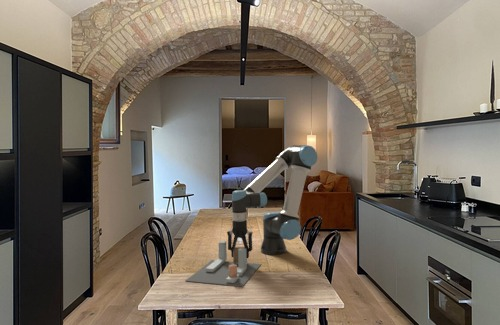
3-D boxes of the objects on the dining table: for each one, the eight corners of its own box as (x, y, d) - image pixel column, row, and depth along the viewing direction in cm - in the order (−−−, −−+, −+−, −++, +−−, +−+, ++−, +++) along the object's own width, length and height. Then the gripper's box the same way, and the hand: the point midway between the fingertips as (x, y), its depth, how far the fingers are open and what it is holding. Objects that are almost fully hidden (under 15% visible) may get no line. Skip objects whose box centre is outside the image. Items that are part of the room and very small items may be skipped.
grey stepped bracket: (220, 259, 205) (220, 240, 204) (227, 259, 204) (227, 241, 203) (205, 271, 185) (205, 251, 185) (213, 272, 184) (212, 251, 184)
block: (237, 259, 200) (236, 246, 200) (246, 260, 198) (246, 247, 198) (233, 262, 195) (233, 249, 194) (243, 263, 193) (243, 249, 193)
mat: (211, 260, 205) (211, 260, 205) (261, 264, 197) (261, 264, 197) (185, 281, 174) (185, 280, 174) (242, 286, 166) (242, 286, 166)
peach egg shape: (230, 274, 176) (230, 263, 176) (238, 275, 175) (238, 264, 175) (227, 277, 172) (227, 266, 172) (235, 277, 171) (235, 267, 171)
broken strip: (239, 268, 190) (239, 248, 189) (247, 268, 189) (247, 248, 188) (225, 282, 170) (225, 260, 170) (234, 283, 169) (233, 260, 168)
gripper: (220, 220, 195) (221, 264, 196) (254, 222, 189) (255, 267, 190) (225, 217, 202) (226, 260, 203) (258, 219, 197) (259, 262, 198)
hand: (240, 263), depth 197 cm, fingers closed on block, 5 cm apart
